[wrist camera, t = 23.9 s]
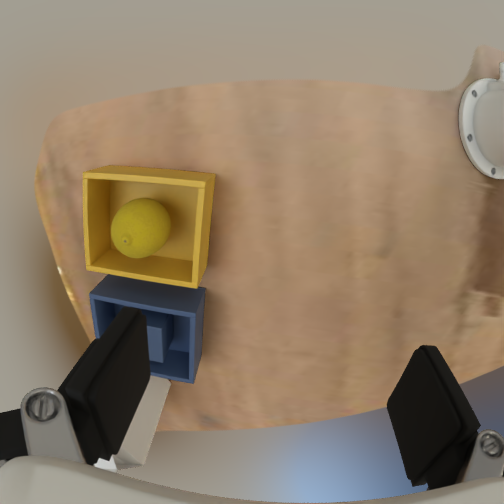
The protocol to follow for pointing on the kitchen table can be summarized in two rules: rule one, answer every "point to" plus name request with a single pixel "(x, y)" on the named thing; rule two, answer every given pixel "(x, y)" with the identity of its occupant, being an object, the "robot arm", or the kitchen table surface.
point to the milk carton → (140, 428)
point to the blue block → (158, 333)
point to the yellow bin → (177, 205)
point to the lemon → (140, 227)
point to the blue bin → (160, 300)
